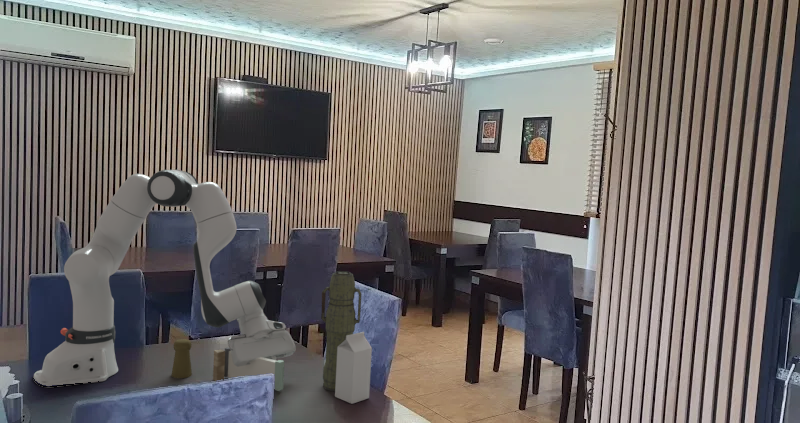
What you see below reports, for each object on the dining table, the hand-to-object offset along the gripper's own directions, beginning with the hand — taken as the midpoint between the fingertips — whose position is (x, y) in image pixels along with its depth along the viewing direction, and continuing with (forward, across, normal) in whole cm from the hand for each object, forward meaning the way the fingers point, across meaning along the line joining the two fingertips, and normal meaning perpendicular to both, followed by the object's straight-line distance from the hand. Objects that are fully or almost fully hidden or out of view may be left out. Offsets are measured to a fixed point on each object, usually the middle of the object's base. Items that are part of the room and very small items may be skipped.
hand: (272, 372), depth 187 cm
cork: (-13, -17, +20) cm, 30 cm away
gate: (0, -4, +5) cm, 7 cm away
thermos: (+11, +16, -5) cm, 20 cm away
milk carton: (+18, +14, -12) cm, 26 cm away
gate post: (-6, -10, +12) cm, 17 cm away
